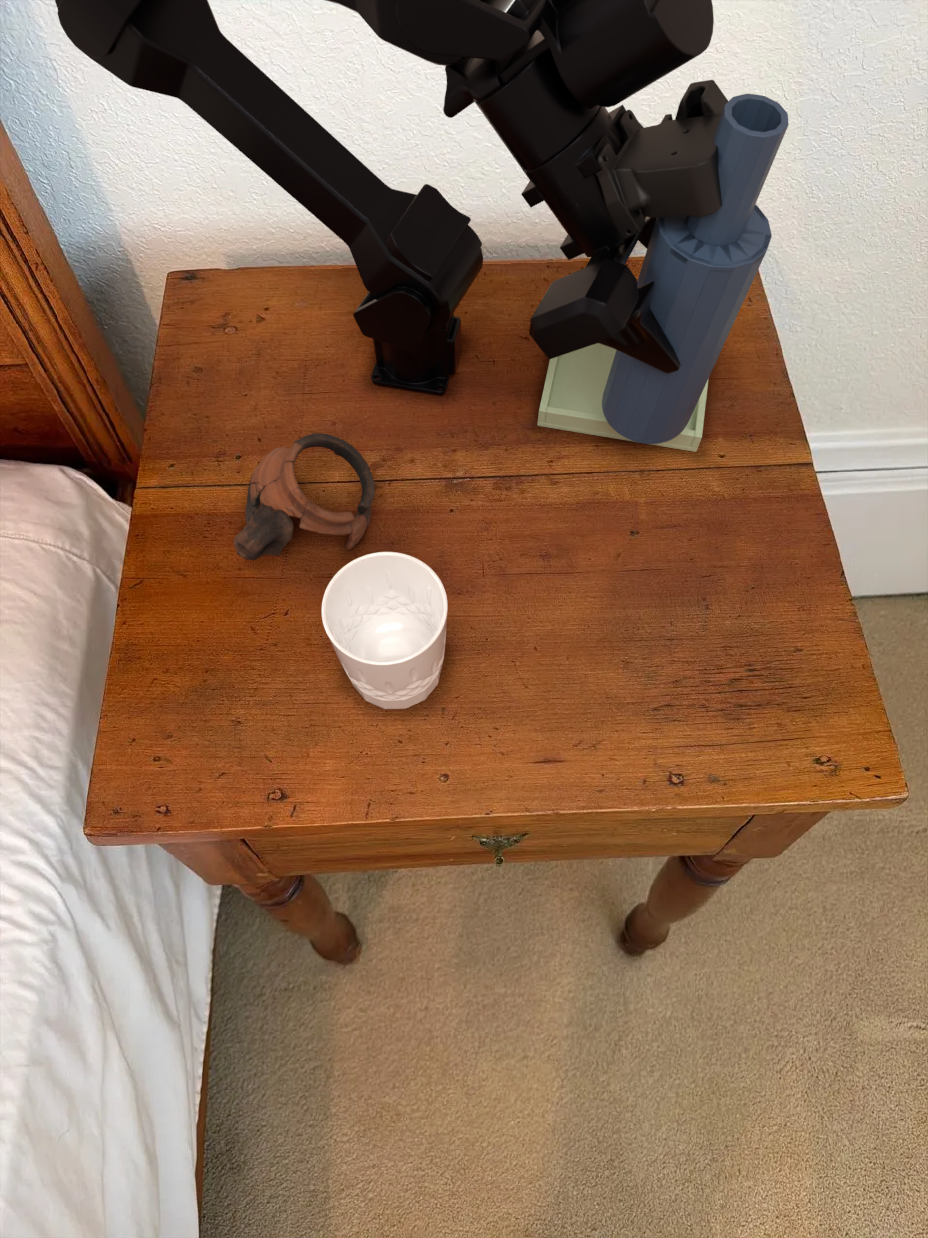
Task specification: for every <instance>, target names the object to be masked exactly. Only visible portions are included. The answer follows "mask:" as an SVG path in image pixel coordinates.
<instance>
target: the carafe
mask: <svg viewBox="0 0 928 1238" xmlns="http://www.w3.org/2000/svg"><path fill="white" fill-rule="evenodd" d="M788 128H789V114H788V112H787V111H786V109H784V106H782V105H781V104H780V103H779V102H778V101H776V100H773V99H771V98H770V97H768V96H765V95H762V94H754V93H743V94H739V95H735V96H733V97H731V98H730V99H728V102H727V103H726V104H725V106H724V108H723V111H722V114H721V117H720V120H719V123H718V126H717V129H716V132H715V135H714V142H715V145H716V146H718V169H719V179H720V188H721V197H722V204H723V205H722V207H721V208H720V209H719V210H718V211H716V212H715V213H713V214H711V215H708V216H705V217H696V218H694V217H692V216H690V215H679V216H665V217H657V218H656V222H655V225H654V228H653V232H652V235H651V238H650V241H649V245H648V248H646V252H645V255H644V258H643V261H642V265H641V269H640V271H639V275H638V278H637V286H638V287H639V286H642V285H644V284H647V283H649V282H652V281H654V283H655V285H654V289H653V293H652V297H651V301H650V309H651V311H652V312H653V314H654V316H655V318H656V319H657V321H658V323H659V324H660V326H661V328H662V330H663V331H664V333H665V335H666V337H667V338H668V340H669V342H670V343H671V345H672V347H673V349H674V351H675V353H676V355H677V357H678V360H679V362H680V364H681V366H680V369H679V370H678V371H675V372H671V373H665V372H663V371H661V370H659V369H656V368H654V367H652V366H650V365H648V364H646V363H644V362H642V361H639V360H637V359H635V358H633V357H631V356H629V355H627V354H625V353H623V352H620V351H618V350H616V353H615V356H614V360H613V363H612V366H611V370H610V373H609V376H608V379H607V383H606V386H605V389H604V392H603V398H602V409H603V413H604V416H605V418H606V420H607V422H608V423H609V425H610V426H611V427H612V428H613V429H614V430H615V431H616V432H617V433H619V434H620V435H622V436H623V437H625V438H627V439H630V440H632V441H631V442H633V441H635V442H634V443H638V444H643V445H651V444H658V443H663V442H667V441H669V440H672V439H673V438H675V437H677V436H678V435H679V434H680V433H681V432H682V431H683V430H684V429H685V427H686V426H687V424H688V422H689V420H690V418H691V416H692V413H693V411H694V409H695V407H696V405H697V402H698V400H699V398H700V396H701V394H702V391H703V389H704V387H705V385H706V383H707V380H708V378H709V379H710V376H711V374H712V371H713V369H714V367H715V365H716V363H717V361H718V359H719V356H720V354H721V352H722V350H723V347H724V345H725V343H726V341H727V339H728V337H729V334H730V332H731V330H732V328H733V325H734V323H735V321H736V319H737V317H738V314H739V313H740V310H741V308H742V306H743V304H744V302H745V300H746V298H747V295H748V293H749V291H750V289H751V286H752V284H753V282H754V280H755V277H756V276H757V273H758V271H759V269H760V267H761V264H762V262H763V260H764V258H765V255H766V253H767V251H768V250H769V249H768V248H769V246H770V243H771V241H772V237H773V235H772V231H771V226H770V221H769V219H768V218H767V216H766V215H765V213H764V212H763V211H762V210H761V209H760V207H759V206H758V205H757V201H758V200H759V197H760V194H761V192H762V190H763V187H764V184H765V182H766V180H767V178H768V176H769V173H770V170H771V168H772V166H773V164H774V161H775V159H776V156H777V154H778V151H779V150H780V147H781V144H782V141H783V139H784V137H785V135H786V132H787V130H788ZM708 381H709V380H708Z"/></svg>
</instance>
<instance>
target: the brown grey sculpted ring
mask: <svg viewBox="0 0 928 1238" xmlns="http://www.w3.org/2000/svg"><path fill="white" fill-rule="evenodd" d="M309 448H310V449H311V448H323V449H328V450H330V451H332V452H333V454H334V455H336V456H338V457H341V459H343V460H345V461H346V462H347V463H348V464H349V465H350V466H351V468H353V470H354V472H355V473H356V475H357V477H358V479H359V482H360V486H361V497H360V501H359V503H358V505H357V512H355V514H354V513H353V512H352V511H350V510H347V511H332V510H328V509H325V508H323V507H321V506H319V505H318V504H316V503H314V502H313V501H311V500H309V498H308V497H307V496H306V494H305V493H304V492H303V490H302V488H301V487H300V485H299V483H298V481H297V477H296V473H295V464H296V460H297V458H298V457H299V454H301V453H302V452H303V451H304V450H307V449H309ZM373 476H374V475H373V473H372V471H371V467H370V466H369V464H368V462H367V460H365V458H364V457H363V456H362V453H361V452H360V451H358V450H357V449H356V448H355V447H354V446H353V445H352V444H351V443H349V442H347V441H346V440H345V439H342V438H339V437H338V436H334V435H331V434H329V433H321V432H313V433H311V434H307V435H303V436H302V437H299V439H298V438H297V439H296V440H294V441H293V442H292V445H290V447H287V446H286V447H285V446H280V447H275V448H274V449H272V450H271V451H269V452H268V453H267V454H266V455H265V456H264V457H262V459H261V460H260V461H259V462H258V465H256V466H255V468H254V470H253V472H252V474H251V476H250V480H249V484H248V489H247V495H246V504H245V510H244V511H245V512H244V517H245V518H244V519H245V524H246V525H245V526H244V527H243V529H242V530H241V531H239V532H238V533H237V534H236V535H235V536H234V539H233V546H234V548H235V551H236V554H237V555H238V556H239V557H241V558H243V559H244V560H247V561H256V560H257V559H261V557H263V556H267V555H268V556H269V555H270V556H275V557H280V556H281V555H282V551H283V549H284V547H286V546H287V545H288V544H289V542H291V540H292V539H293V535H294V529H295V528H294V526H295V525H294V522H293V520H292V519H291V518H290V517H294V518H297V519H299V525H298V527H299V528H300V529H301V530H306V531H308V532H309V531H310V532H313V533H314V532H315V533H318V534H321V535H333V536H344V535H348V539H347V542H346V544H345V546H344V547H345V549H346V550H347V551H350V550H352V549H353V548H354V547H356V546H357V544H359V542H360V541H361V539H362V538H363V537H364V535H365V532H366V530H367V528H368V527H369V526H370V523H371V518H372V517H371V516H372V510H373V509H372V508H373V503H374V499H375V492H376V487H375V486H376V484H375V479H374V477H373Z"/></svg>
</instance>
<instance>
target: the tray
mask: <svg viewBox="0 0 928 1238" xmlns="http://www.w3.org/2000/svg"><path fill="white" fill-rule="evenodd" d="M615 353H616V349H613V348H611V347H608V346H605V345H602V344H599V343H596V344H593V345H591V346H588V347H585V348H582V349H579V350H576V351H573V352H570V353H567V354H564V355H561V356H558V357H555V358H552V359H549V361H548V365H547V371H546V376H545V380H544V384H543V385H544V386H543V390H542V394H541V399H540V404H539V409H538V415H537V416H538V417H537V423H536V424H537V426H538V427H542V428H549V429H556V430H560V431H566V432H572V433H573V432H574V433H579V434H585V435H592V436H597V437H602V438H603V437H604V438H608V439H609V438H610V439H614V440H615V439H616V440H621V441H627V442H633V443H636V442H635V441H632V440H630V439H627V438H625V437H623V436H622V435H620V434H619V433H617V432H616V431H615V430H614V429H613V428H612V427H611V426H610V425H609V423H608V422H607V420H606V418H605V416H604V413H603V409H602V398H603V392H604V389H605V386H606V383H607V379H608V376H609V373H610V370H611V366H612V363H613V360H614V356H615ZM709 379H710V377H709V378H708V380H707V383H706V385H705V387H704V389H703V391H702V394H701V396H700V398H699V400H698V402H697V405H696V407H695V409H694V411H693V413H692V416H691V418H690V420H689V422H688V424H687V426H686V427H685V429H684V430H683V431H682V432H681V433H680V434H679V435H678V436H677V437H675V438H673V439H672V440H669V441H667V442H663V443H658V444H650V445H651V446H657V447H663V448H668V449H669V448H670V449H675V450H680V451H682V450H683V451H688V452H692V453H693V452H694V453H697V451H698V449H699V446H700V443H701V441H702V438H703V431H704V423H705V413H706V405H707V397H708V388H709Z"/></svg>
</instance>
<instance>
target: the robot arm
mask: <svg viewBox="0 0 928 1238" xmlns="http://www.w3.org/2000/svg"><path fill="white" fill-rule="evenodd" d="M324 1H325V2H329V3H333V4H337V5H339V6H342V7H345V8H347V9H349V10H351V11H353V12H355V13H357V14H358V15H359V16H360V17H361V18H362V20H363V21H364V22H365V23H366V24H367V25H368V27H369V28H370V29H371V30H372V32H374V33H375V35H377V37H378V38H379V39H380V40H382V41H383V42H385V43H388V44H390V45H392V46H394V47H396V48H398V49H400V50H402V51H404V52H407V53H409V54H411V55H413V56H416V57H417V58H420V59H422V60H424V61H426V62H428V63H431V64H434V65H437V66H443V67H444V71H445V76H446V77H445V78H446V87H445V88H446V89H445V92H444V93H445V94H444V99H443V108H442V109H443V115H445V117H447V118H449V119H451V118H454V117H456V116H457V115H459V113H461V112H463V111H464V110H465V109H467V108H468V107H470V106H471V105H473V104H475V105H476V107H477V108H478V109H479V110H480V112H481V113H482V115H483V117H484V118H485V119H486V120H487V122H488V123H489V125H490V126H491V128H492V129H493V130H494V132H495V134H497V136H498V138H499V139H500V140H501V142H502V143H503V144H504V146H505V147H506V148H507V150H508V151H509V153H510V154H511V156H512V157H513V158H514V160H515V161H516V162H517V165H518V166H519V167H520V169H521V170H522V171H523V173H524V175H525V176H526V178H527V179H528V180H529V181H528V183H527V184H526V186H525V187H524V189H523V191H522V192H521V194H520V195H521V197H523V199H524V201H525V202H526V203H527V205H528V206H529V207H530V208H533V207H535V206H537V205H539V204H541V203H542V202H544V203H545V204H546V205H547V207H548V208H549V210H550V211H551V212H552V214H553V215H554V217H555V218H556V220H557V221H558V223H559V224H560V225H561V226H562V228H563V229H564V231H565V233H566V234H567V235H566V236H565V238H564V240H563V241H562V243H561V244H560V246H559V249H560V251H561V252H562V253H563V255H564V256H565V257H566V259H567V260H568V261H570V260H572V259H575V258H577V257H580V256H581V255H585V256H586V258H590V259H589V260H588V262H587V264H586V265H585V267H584V268H581V269H578V270H576V271H574V272H572V273H570V274H566V275H565V276H563V277H560V278H558V279H555V280H553V281H551V284H550V285H549V286H548V289H547V290H546V292H545V294H544V295H543V297H542V299H541V300H540V302H539V304H538V306H537V307H536V309H535V311H534V312H533V314H532V315H531V317H530V320H529V321H530V322H529V332H528V335H529V336H530V337H531V339H532V340H533V341H534V342H535V344H536V345H537V346H538V348H539V349H540V350H541V351H542V353H543V354H544V355H545V356H546V358H547V359H548V360H550V359H552V358H555V357H558V356H561V355H564V354H567V353H570V352H573V351H576V350H579V349H582V348H585V347H588V346H591V345H593V344H596V343H599V344H602V345H605V346H608V347H611V348H613V349H616V350H618V351H620V352H623V353H625V354H627V355H629V356H631V357H633V358H635V359H637V360H639V361H642V362H644V363H646V364H648V365H650V366H652V367H654V368H656V369H659V370H661V371H663V372H665V373H671V372H675V371H678V370H679V369H680V366H681V364H680V362H679V360H678V357H677V355H676V353H675V351H674V349H673V347H672V345H671V343H670V342H669V340H668V338H667V337H666V335H665V333H664V331H663V330H662V328H661V326H660V324H659V323H658V321H657V319H656V318H655V316H654V314H653V312H652V311H651V309H650V301H651V297H652V293H653V289H654V285H655V283H654V281H652V282H649V283H647V284H644V285H642V286H639V287H638V286H637V281H638V278H637V277H636V276H635V275H634V273H633V272H632V270H631V269H630V268H629V266H628V264H627V262H628V260H629V258H630V257H631V254H632V253H633V251H634V249H635V247H636V245H637V243H638V242H639V243H640V244H641V245H642V246H643V247H644V248H645V249H647V248H648V245H649V241H650V238H651V235H652V232H653V228H654V225H655V222H656V218H657V217H665V216H679V215H690V216H692V217H694V218H696V217H705V216H708V215H711V214H713V213H715V212H716V211H718V210H719V209H720V208H721V207H722V205H723V204H722V197H721V188H720V179H719V169H718V146H716V145H715V142H714V135H715V132H716V129H717V126H718V123H719V120H720V117H721V114H722V111H723V108H724V106H725V104H726V103H727V102H728V101H729V99H727V97H726V95H725V94H724V93H723V91H722V90H721V88H720V87H719V86H718V84H717V83H716V81H715V80H714V79H708V80H702V81H695V82H691V83H690V84H689V85H688V87H687V89H686V90H685V91H684V94H683V96H682V98H681V99H680V101H679V104H678V107H677V110H676V113H675V118H674V119H673V115H672V113H667V114H665V115H664V116H663V118H662V120H661V122H660V123H659V124H653V125H649V126H646V127H644V126H643V125H642V124H641V122H639V120H638V119H637V117H636V115H635V114H634V112H633V111H632V110H631V109H626V107H625V106H624V104H621V105H619V106H618V107H616V108H614V109H613V110H611V111H609V110H608V108H611V107H614V106H616V105H618V104H620V103H622V102H623V101H625V100H627V99H628V98H630V97H632V96H634V95H635V94H637V93H638V92H640V91H642V90H643V89H645V88H647V87H648V86H650V85H652V84H653V83H655V82H657V81H659V80H660V79H662V78H663V77H665V76H666V75H669V74H670V73H672V72H674V71H675V70H677V69H679V68H680V67H682V66H683V65H685V64H687V63H688V62H691V60H693V59H695V58H697V57H699V56H700V55H702V54H703V53H704V52H705V51H706V50H707V49H708V48H709V46H710V44H711V41H712V37H713V34H714V23H715V17H714V5H713V1H712V0H324ZM54 3H55V5H56V8H57V18H58V21H59V24H60V26H61V28H62V29H63V32H64V33H65V36H66V37H67V38H68V39H69V41H70V42H71V43H72V44H73V45H74V46H75V47H76V48H77V49H78V50H79V51H80V52H82V53H83V54H84V55H85V56H87V57H88V58H89V59H90V60H92V61H93V62H94V63H96V64H97V65H99V66H101V67H102V68H103V69H105V70H107V71H108V72H109V73H110V74H112V75H113V76H115V77H116V78H117V79H119V80H121V81H122V82H123V83H125V84H126V85H128V86H130V87H131V88H135V89H140V90H143V91H148V92H151V93H156V94H160V95H164V96H168V97H172V98H175V99H178V100H180V101H181V102H183V103H184V104H185V105H186V106H187V107H189V109H191V110H192V111H193V112H194V113H196V114H197V116H199V117H200V118H201V119H202V120H204V121H205V122H206V123H207V124H208V125H209V126H211V128H213V129H214V130H215V131H216V132H217V133H219V135H221V136H222V137H223V138H224V139H225V140H226V141H228V142H229V143H230V144H231V145H232V146H233V147H234V148H236V149H237V150H238V151H239V152H240V153H242V154H243V155H244V156H245V157H246V158H247V159H249V161H251V162H252V163H253V164H254V165H255V166H256V167H257V168H258V169H260V170H261V171H262V172H263V173H264V174H266V175H267V176H268V177H269V178H270V179H271V180H272V181H274V182H275V183H276V184H277V185H278V186H279V187H281V188H282V189H283V190H284V191H285V192H286V193H287V194H288V195H290V196H291V197H292V198H293V199H294V200H296V201H297V203H299V205H301V206H302V207H303V208H304V209H306V210H307V211H308V212H310V214H311V215H313V216H314V217H315V218H316V219H317V220H318V221H320V222H321V223H322V225H324V226H325V227H327V229H329V230H330V231H331V232H332V233H333V234H334V235H336V237H338V238H339V239H340V240H341V241H343V242H344V244H345V245H346V246H347V247H348V248H349V251H350V254H351V256H352V258H353V261H354V263H355V266H356V269H357V271H358V274H359V276H360V278H361V281H362V284H363V286H364V288H365V289H366V291H367V294H366V295H365V296H364V298H363V299H362V301H361V302H360V303H359V305H358V306H357V308H356V309H355V311H354V312H353V314H352V316H353V319H354V320H355V323H356V325H357V327H358V328H359V330H360V332H361V334H362V335H363V336H364V337H367V338H369V339H371V340H372V342H373V349H374V356H375V363H374V366H373V369H372V372H371V375H370V380H371V383H372V384H373V385H376V386H381V387H388V388H393V389H399V390H400V389H401V390H407V391H411V392H416V393H417V392H419V393H424V394H431V395H436V396H443V395H445V394H446V392H447V390H448V386H449V382H450V378H451V376H453V375H455V374H456V372H457V368H458V365H459V361H460V357H461V354H462V319H461V318H460V316H455V312H456V310H457V308H458V307H459V305H460V303H461V302H462V301H463V299H464V297H465V295H466V294H467V292H468V290H469V289H470V288H471V286H472V284H473V283H474V281H475V280H476V278H477V276H478V275H479V274H480V272H481V270H482V269H483V263H484V255H483V249H482V246H483V243H482V241H481V238H480V237H479V235H478V234H477V233H476V232H475V230H474V229H473V228H472V227H471V225H469V224H470V222H471V221H472V220H471V217H470V216H468V215H466V214H464V213H463V212H460V211H459V210H458V209H457V208H455V207H454V206H453V205H451V203H449V201H448V200H447V199H446V198H445V196H443V194H442V193H441V191H439V190H438V188H436V187H434V186H432V185H430V184H428V183H425V184H423V186H422V187H421V188H420V189H419V191H418V192H417V193H412V192H409V191H408V192H407V191H403V190H400V189H394V188H392V187H390V186H389V185H387V183H385V182H384V181H382V179H381V178H379V177H378V176H377V175H376V174H375V173H374V172H373V171H372V170H370V168H369V167H368V166H366V165H365V164H364V163H363V162H362V161H361V160H360V159H359V158H357V157H356V155H354V154H353V153H352V152H351V151H350V150H349V149H348V148H347V147H346V146H344V145H343V144H342V143H341V142H340V141H339V140H338V139H337V138H336V137H335V136H333V134H331V133H330V132H329V130H327V129H326V128H325V127H324V126H323V125H322V124H320V123H319V122H318V120H316V119H315V118H314V117H313V116H312V115H311V114H309V113H308V112H307V111H306V110H305V109H304V108H303V107H302V106H301V105H300V104H299V103H297V101H295V99H293V98H292V96H290V95H289V94H288V93H287V92H286V91H284V89H282V88H281V87H280V86H279V85H278V84H277V83H276V82H275V81H274V80H272V79H271V78H270V77H269V76H268V75H267V74H266V73H265V72H264V71H262V69H260V67H258V66H257V65H256V64H255V63H254V62H252V60H251V59H249V58H248V56H246V55H245V54H244V53H243V52H242V51H241V50H240V49H239V48H237V47H236V46H235V45H234V44H233V43H232V41H230V40H229V39H228V38H227V37H226V36H225V35H224V34H223V33H222V31H221V29H220V27H219V25H218V22H217V20H216V17H215V15H214V12H213V10H212V8H211V5H210V2H209V0H54Z"/></svg>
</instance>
